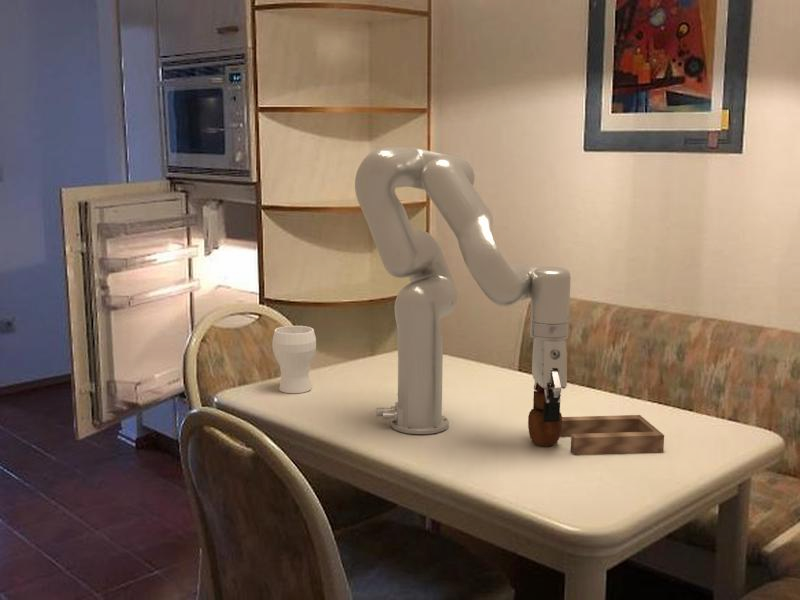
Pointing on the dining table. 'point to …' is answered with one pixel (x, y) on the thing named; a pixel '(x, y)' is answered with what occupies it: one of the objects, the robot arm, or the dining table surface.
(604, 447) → the u rest
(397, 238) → the robot arm
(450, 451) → the dining table surface
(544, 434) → the wooden figurine
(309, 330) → the cup
